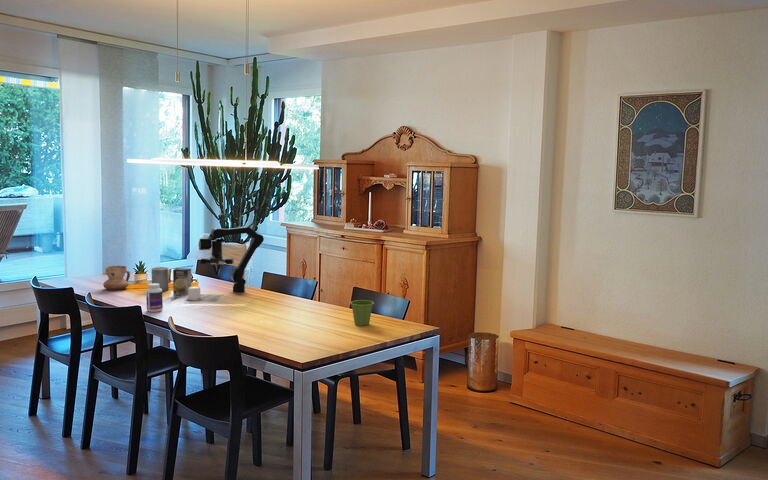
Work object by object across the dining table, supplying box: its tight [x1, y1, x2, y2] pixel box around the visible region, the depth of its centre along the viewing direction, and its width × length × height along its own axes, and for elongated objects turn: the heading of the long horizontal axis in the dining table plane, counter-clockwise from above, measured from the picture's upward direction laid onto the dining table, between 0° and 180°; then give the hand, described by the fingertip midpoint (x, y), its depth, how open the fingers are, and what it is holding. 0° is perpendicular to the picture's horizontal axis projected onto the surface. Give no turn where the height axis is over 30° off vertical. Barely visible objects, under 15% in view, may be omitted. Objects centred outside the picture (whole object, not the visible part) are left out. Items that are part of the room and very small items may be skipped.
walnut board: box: [184, 293, 224, 302], centre depth 384 cm, size 18×20×1 cm
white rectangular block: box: [187, 286, 201, 300], centre depth 379 cm, size 5×5×7 cm
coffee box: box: [172, 267, 192, 297], centre depth 394 cm, size 9×6×16 cm
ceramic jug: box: [102, 264, 131, 291], centre depth 410 cm, size 18×14×14 cm
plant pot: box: [349, 299, 375, 327], centre depth 330 cm, size 12×12×11 cm
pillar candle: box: [151, 266, 170, 292], centre depth 409 cm, size 10×10×15 cm
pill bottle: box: [145, 283, 164, 313], centre depth 352 cm, size 8×8×14 cm
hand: (217, 275), depth 397 cm, fingers closed
